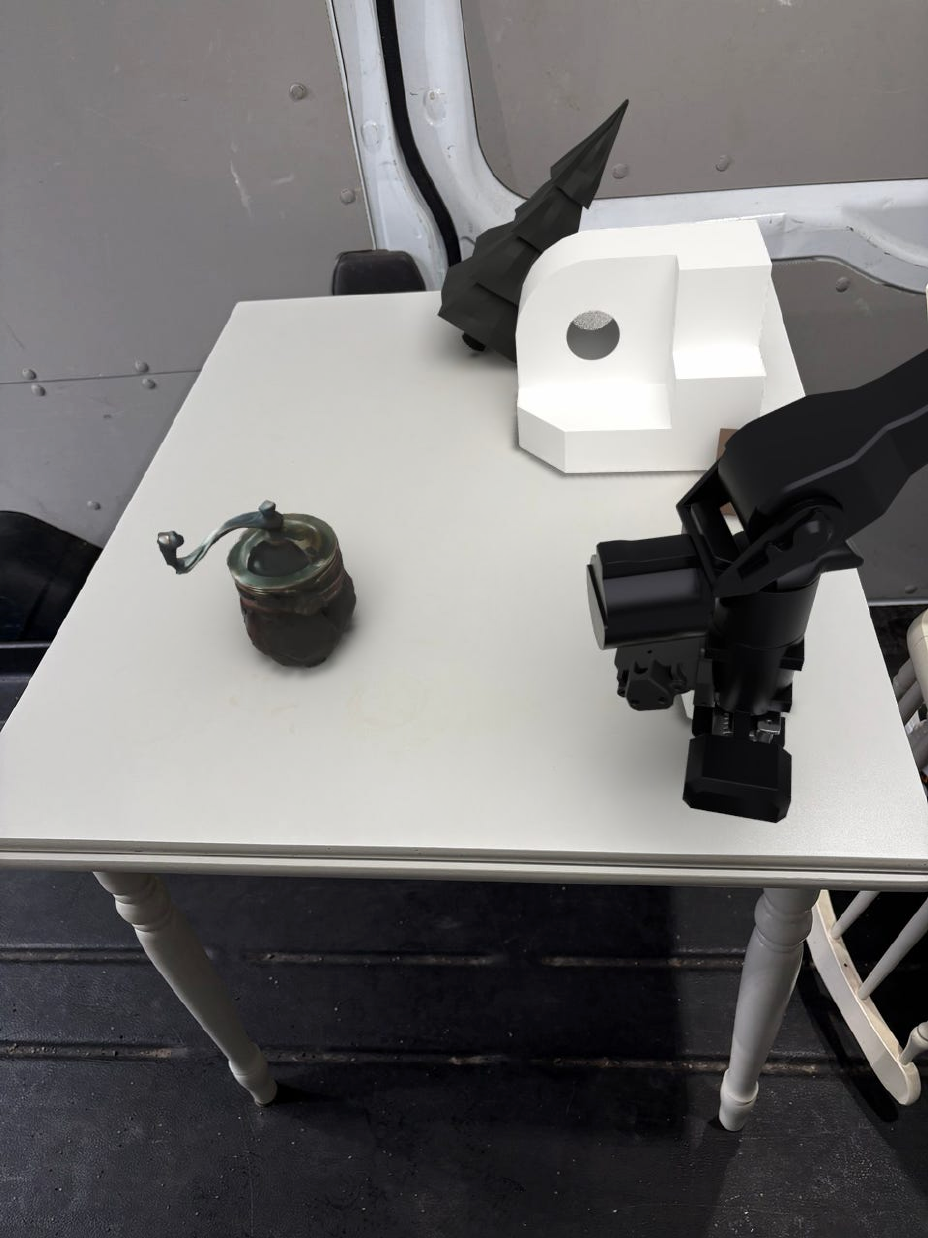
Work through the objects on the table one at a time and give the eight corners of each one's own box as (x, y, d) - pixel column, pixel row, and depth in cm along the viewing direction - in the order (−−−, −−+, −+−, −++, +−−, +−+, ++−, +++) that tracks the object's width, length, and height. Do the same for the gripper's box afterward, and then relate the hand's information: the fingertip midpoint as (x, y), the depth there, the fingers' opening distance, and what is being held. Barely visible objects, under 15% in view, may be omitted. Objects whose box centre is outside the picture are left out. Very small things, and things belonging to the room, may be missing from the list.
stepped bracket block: (516, 474, 97) (505, 303, 82) (524, 395, 108) (515, 234, 94) (750, 469, 93) (781, 290, 78) (731, 388, 105) (756, 219, 90)
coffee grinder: (196, 662, 81) (124, 516, 68) (315, 579, 87) (269, 432, 75) (274, 730, 74) (210, 583, 61) (396, 635, 81) (361, 484, 68)
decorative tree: (515, 395, 115) (686, 157, 92) (421, 341, 110) (575, 77, 87) (519, 342, 125) (673, 116, 102) (432, 291, 120) (573, 43, 97)
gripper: (645, 508, 60) (635, 653, 71) (603, 713, 47) (599, 849, 59) (811, 523, 57) (774, 672, 68) (812, 745, 45) (766, 882, 56)
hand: (727, 760), depth 63 cm, fingers closed
